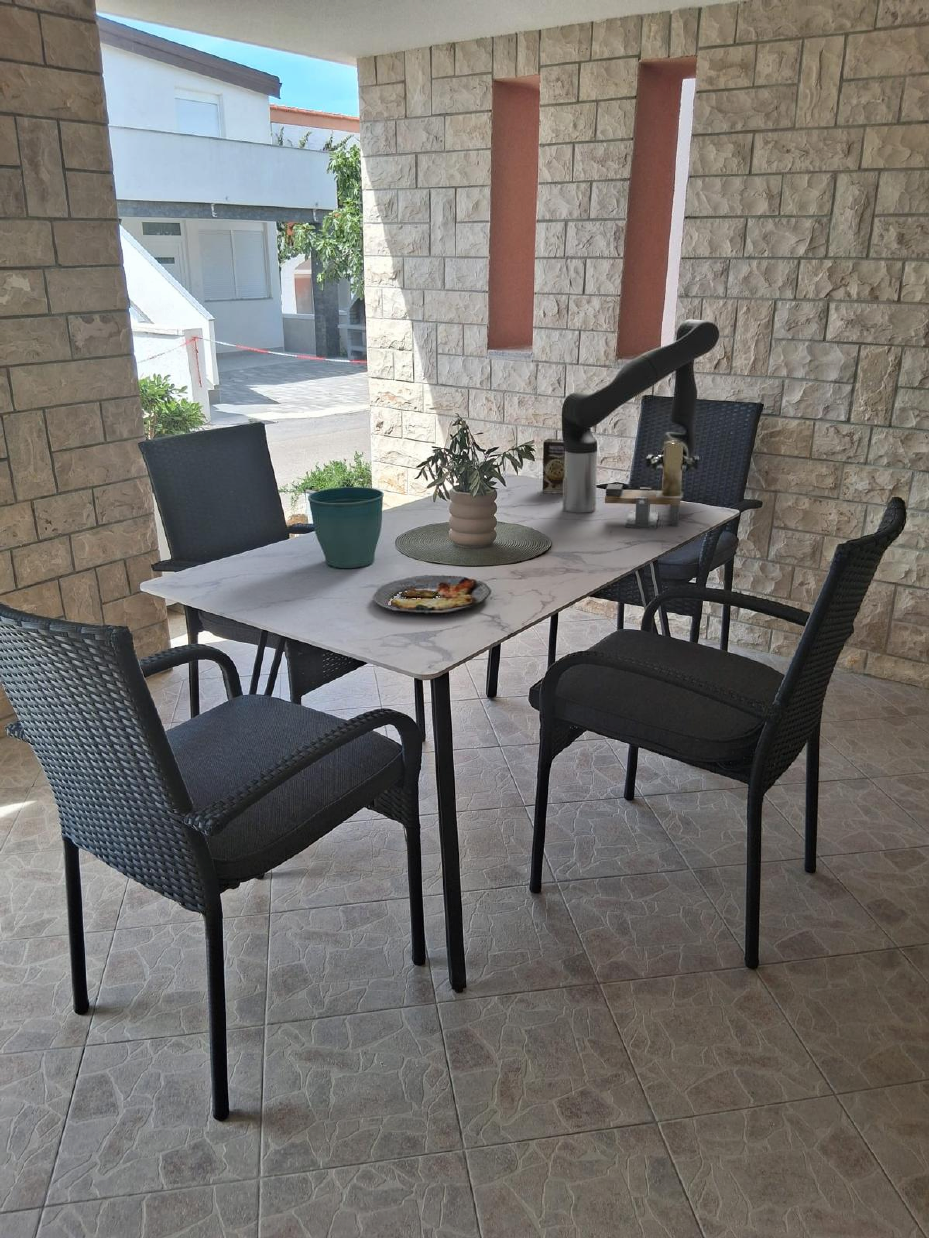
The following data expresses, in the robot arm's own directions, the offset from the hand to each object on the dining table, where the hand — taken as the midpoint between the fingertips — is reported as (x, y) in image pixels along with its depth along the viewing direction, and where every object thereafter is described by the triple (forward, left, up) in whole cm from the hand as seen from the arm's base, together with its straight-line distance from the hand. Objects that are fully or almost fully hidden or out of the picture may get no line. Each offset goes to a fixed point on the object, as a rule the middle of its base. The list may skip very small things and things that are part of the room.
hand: (671, 466), depth 252 cm
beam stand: (-4, 0, -16) cm, 16 cm away
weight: (0, 0, -7) cm, 8 cm away
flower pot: (-74, -50, -16) cm, 91 cm away
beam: (-7, 0, -9) cm, 11 cm away
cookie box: (-36, +33, -16) cm, 51 cm away
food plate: (-46, -73, -16) cm, 88 cm away
